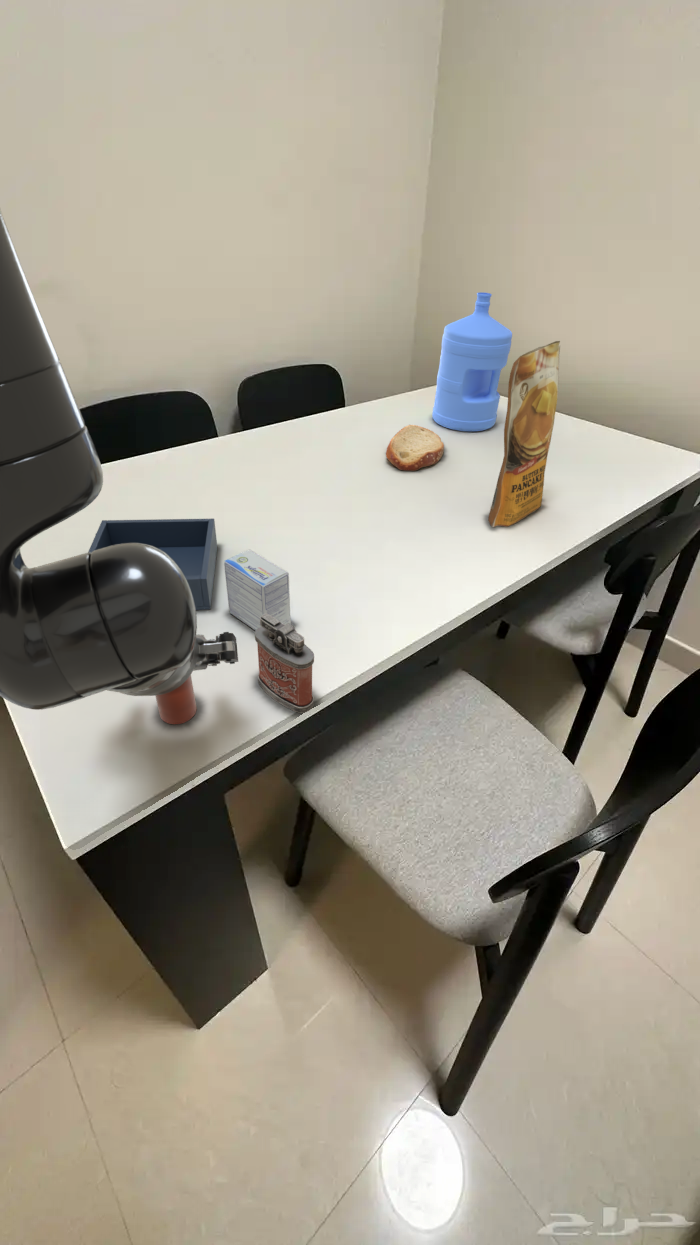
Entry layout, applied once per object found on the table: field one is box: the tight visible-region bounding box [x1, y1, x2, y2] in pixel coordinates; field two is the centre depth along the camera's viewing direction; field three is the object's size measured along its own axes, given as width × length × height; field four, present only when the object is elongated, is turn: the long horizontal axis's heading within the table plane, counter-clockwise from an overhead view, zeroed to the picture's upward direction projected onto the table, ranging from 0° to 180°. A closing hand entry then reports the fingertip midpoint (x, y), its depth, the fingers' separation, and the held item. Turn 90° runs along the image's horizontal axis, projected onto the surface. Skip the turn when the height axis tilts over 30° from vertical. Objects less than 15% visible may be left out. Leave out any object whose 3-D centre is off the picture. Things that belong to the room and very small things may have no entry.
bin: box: [87, 518, 218, 611], centre depth 83 cm, size 17×17×5 cm
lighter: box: [254, 614, 315, 714], centre depth 65 cm, size 8×3×10 cm, turn 49°
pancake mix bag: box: [487, 340, 561, 528], centre depth 98 cm, size 7×19×28 cm, turn 137°
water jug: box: [432, 292, 513, 432], centre depth 136 cm, size 16×16×28 cm
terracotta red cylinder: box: [155, 674, 197, 725], centre depth 62 cm, size 4×4×9 cm
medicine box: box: [223, 549, 292, 631], centre depth 76 cm, size 8×4×9 cm, turn 47°
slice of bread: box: [385, 424, 445, 472], centre depth 126 cm, size 18×18×4 cm
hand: (170, 659), depth 62 cm, fingers open, 8 cm apart
